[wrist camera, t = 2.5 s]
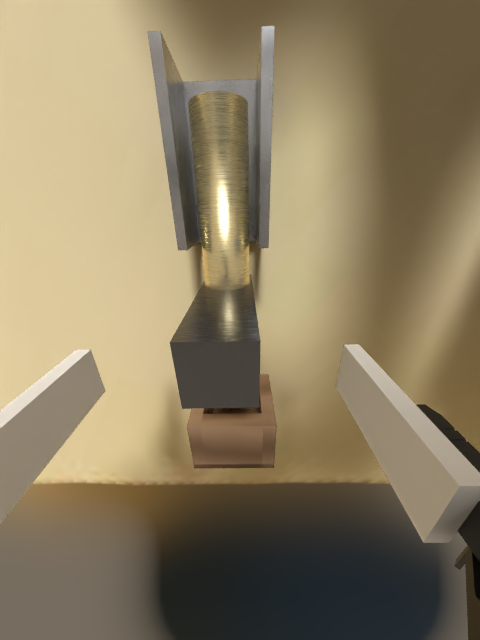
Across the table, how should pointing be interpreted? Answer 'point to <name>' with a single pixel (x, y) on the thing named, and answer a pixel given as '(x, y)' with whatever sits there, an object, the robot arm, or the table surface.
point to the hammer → (220, 264)
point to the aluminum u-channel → (179, 144)
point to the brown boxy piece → (234, 434)
